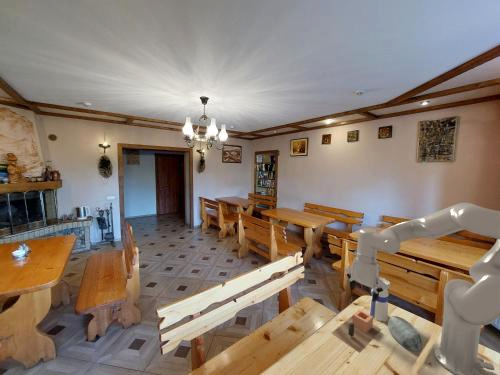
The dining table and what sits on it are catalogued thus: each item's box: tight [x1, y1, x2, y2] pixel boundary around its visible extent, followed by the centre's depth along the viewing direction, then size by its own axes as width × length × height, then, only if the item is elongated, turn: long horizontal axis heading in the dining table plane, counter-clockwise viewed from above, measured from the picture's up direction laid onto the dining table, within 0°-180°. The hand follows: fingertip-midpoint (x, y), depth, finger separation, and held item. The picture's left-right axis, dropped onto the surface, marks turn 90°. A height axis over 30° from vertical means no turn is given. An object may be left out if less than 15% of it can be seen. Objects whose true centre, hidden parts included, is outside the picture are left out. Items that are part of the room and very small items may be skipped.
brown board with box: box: [331, 315, 382, 354], centre depth 91 cm, size 20×12×8 cm, turn 127°
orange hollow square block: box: [352, 309, 374, 333], centre depth 94 cm, size 6×6×5 cm
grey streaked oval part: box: [387, 315, 423, 352], centre depth 88 cm, size 14×10×10 cm
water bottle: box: [368, 265, 392, 322], centre depth 101 cm, size 8×9×25 cm
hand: (363, 294), depth 93 cm, fingers open, 9 cm apart
